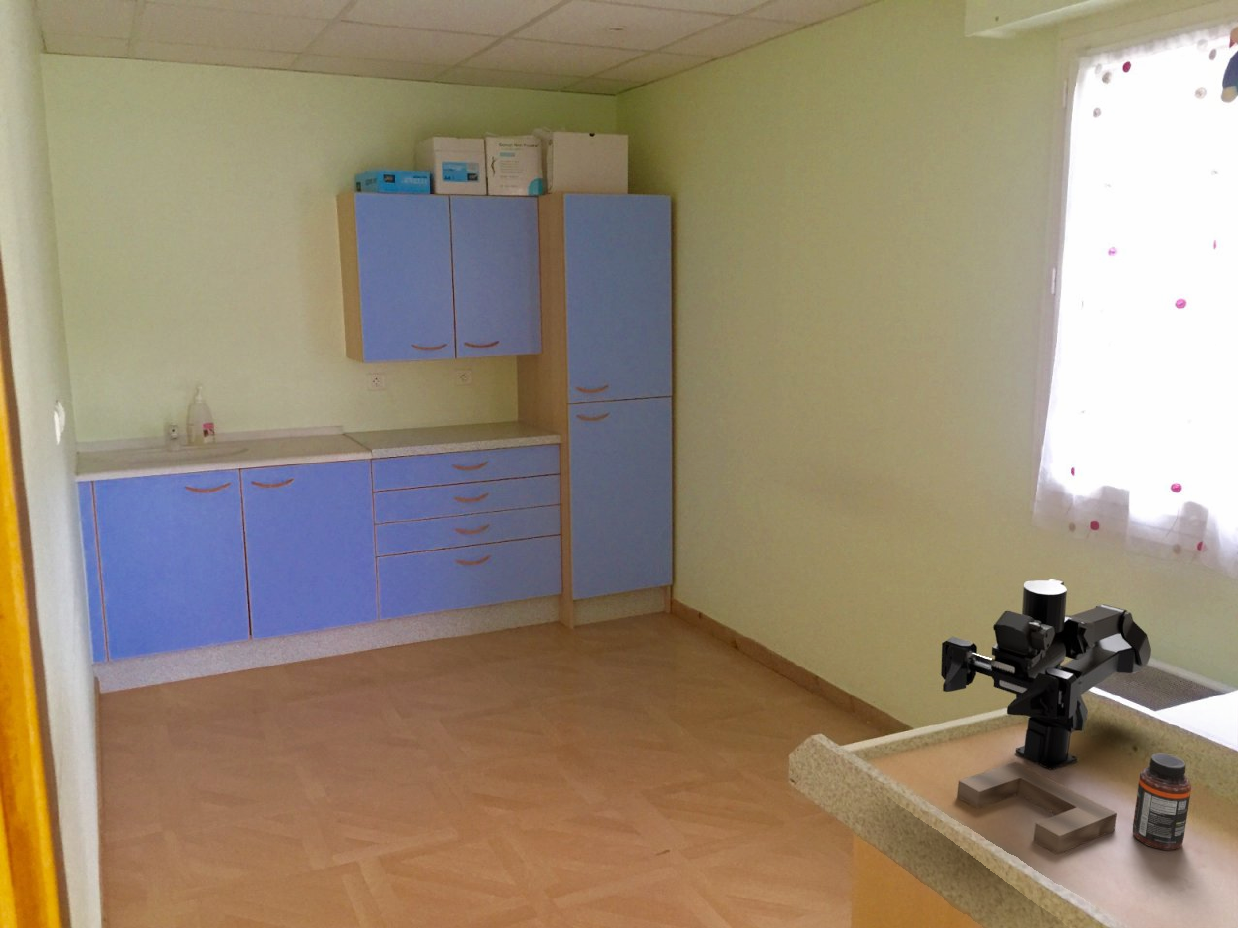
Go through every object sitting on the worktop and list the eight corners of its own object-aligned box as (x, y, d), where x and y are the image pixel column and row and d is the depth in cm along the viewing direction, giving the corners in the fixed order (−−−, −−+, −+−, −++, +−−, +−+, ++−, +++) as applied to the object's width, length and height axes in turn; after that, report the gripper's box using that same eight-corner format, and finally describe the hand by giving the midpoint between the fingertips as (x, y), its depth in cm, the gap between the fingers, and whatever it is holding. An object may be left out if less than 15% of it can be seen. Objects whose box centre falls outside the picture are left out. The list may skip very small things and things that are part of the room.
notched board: (1013, 777, 151) (1015, 761, 150) (1114, 830, 138) (1117, 812, 137) (957, 796, 145) (958, 780, 144) (1057, 853, 131) (1059, 835, 131)
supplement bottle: (1137, 822, 140) (1149, 744, 138) (1186, 838, 136) (1199, 758, 134) (1126, 839, 135) (1137, 759, 133) (1176, 857, 132) (1189, 775, 130)
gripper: (973, 589, 153) (914, 624, 143) (1101, 624, 139) (1047, 665, 129) (970, 658, 156) (913, 697, 146) (1095, 699, 142) (1042, 744, 132)
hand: (975, 699), depth 138 cm, fingers open, 9 cm apart
